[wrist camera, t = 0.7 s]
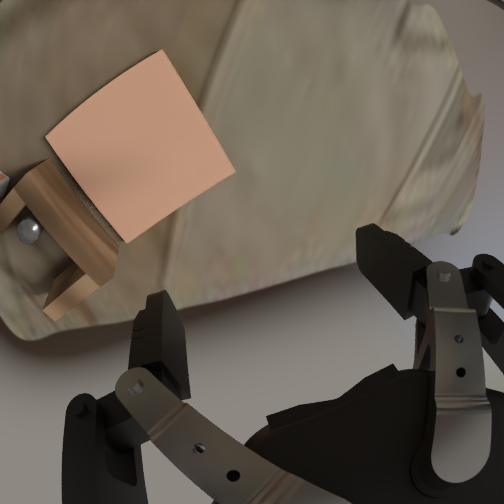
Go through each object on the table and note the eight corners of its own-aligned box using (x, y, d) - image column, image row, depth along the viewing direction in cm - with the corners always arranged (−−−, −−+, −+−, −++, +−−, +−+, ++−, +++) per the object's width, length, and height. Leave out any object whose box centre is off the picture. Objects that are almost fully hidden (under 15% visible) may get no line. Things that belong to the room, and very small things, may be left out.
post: (34, 206, 24) (13, 231, 19) (47, 193, 24) (26, 215, 19) (46, 222, 25) (28, 249, 20) (60, 209, 25) (42, 234, 20)
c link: (49, 157, 22) (26, 173, 17) (119, 246, 30) (113, 276, 25) (-2, 214, 22) (-25, 239, 17) (65, 289, 30) (55, 321, 25)
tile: (47, 135, 21) (45, 136, 20) (162, 50, 21) (162, 49, 20) (127, 240, 30) (127, 243, 29) (233, 169, 29) (235, 171, 29)
